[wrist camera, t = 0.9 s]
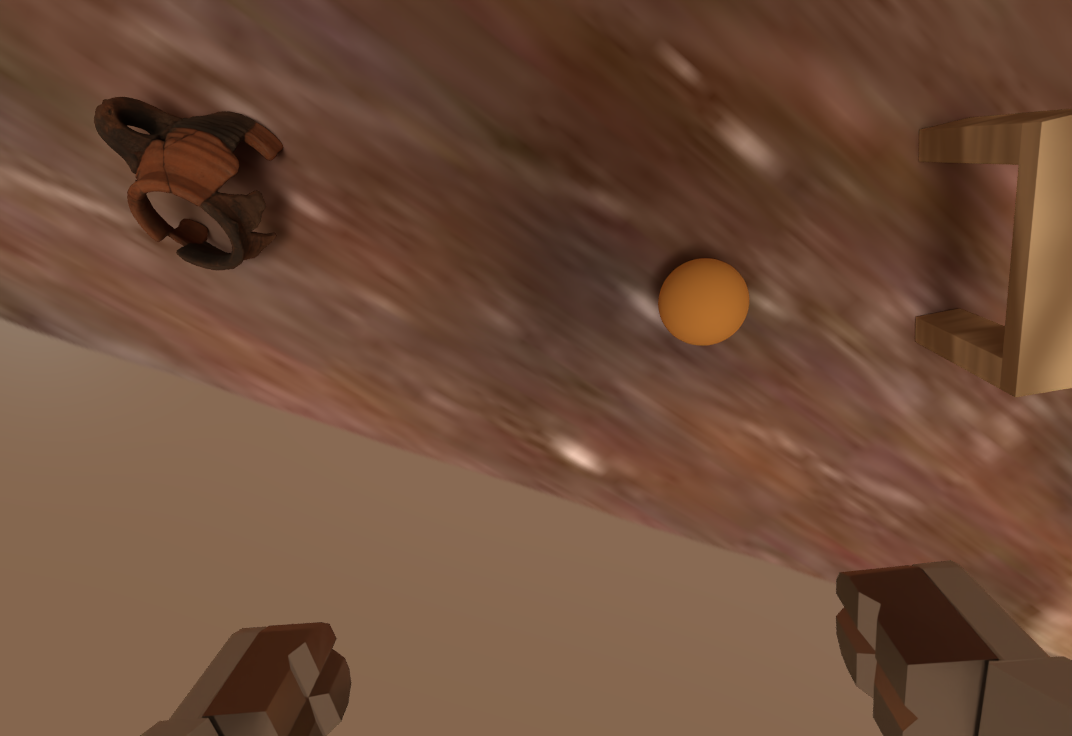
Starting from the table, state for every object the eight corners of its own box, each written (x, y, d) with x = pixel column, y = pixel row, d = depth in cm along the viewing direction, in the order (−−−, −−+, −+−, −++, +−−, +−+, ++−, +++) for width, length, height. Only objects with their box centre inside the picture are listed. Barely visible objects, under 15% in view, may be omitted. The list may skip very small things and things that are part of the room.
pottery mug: (328, 163, 38) (272, 234, 33) (285, 232, 44) (233, 301, 39) (152, 30, 33) (55, 92, 28) (132, 131, 39) (50, 195, 34)
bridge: (915, 341, 40) (1015, 397, 31) (919, 129, 34) (1041, 122, 25) (958, 333, 39) (1072, 387, 30) (969, 117, 34) (1112, 105, 25)
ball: (646, 261, 39) (659, 279, 33) (730, 242, 38) (757, 258, 32) (659, 337, 41) (673, 366, 35) (738, 320, 40) (765, 348, 34)
